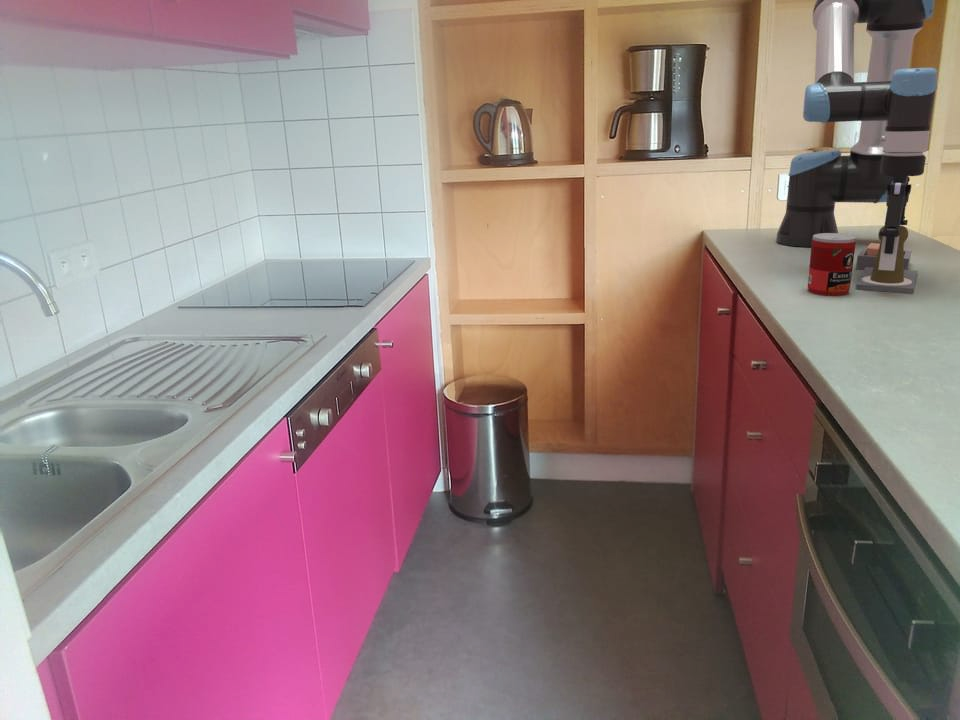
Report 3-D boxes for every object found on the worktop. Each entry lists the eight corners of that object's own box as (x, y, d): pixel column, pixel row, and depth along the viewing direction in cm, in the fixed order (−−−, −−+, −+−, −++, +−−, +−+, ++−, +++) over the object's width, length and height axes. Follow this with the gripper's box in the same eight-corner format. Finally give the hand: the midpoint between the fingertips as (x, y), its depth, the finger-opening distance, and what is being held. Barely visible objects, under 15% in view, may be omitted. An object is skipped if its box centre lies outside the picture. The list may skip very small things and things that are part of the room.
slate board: (865, 271, 167) (865, 266, 167) (917, 275, 162) (917, 270, 162) (855, 289, 152) (856, 283, 152) (912, 293, 148) (913, 288, 147)
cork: (907, 283, 151) (916, 227, 147) (874, 283, 152) (882, 227, 148) (898, 277, 156) (906, 223, 153) (866, 276, 158) (873, 223, 154)
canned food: (831, 298, 147) (838, 241, 143) (798, 290, 153) (803, 235, 150) (858, 292, 150) (865, 236, 147) (824, 285, 157) (830, 231, 153)
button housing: (860, 260, 178) (862, 248, 177) (909, 263, 173) (911, 250, 172) (855, 269, 170) (857, 255, 169) (907, 272, 165) (908, 258, 164)
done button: (868, 256, 175) (870, 243, 174) (902, 258, 172) (903, 244, 171) (865, 261, 170) (867, 248, 169) (900, 263, 166) (901, 250, 165)
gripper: (887, 149, 158) (874, 251, 165) (876, 158, 138) (861, 274, 145) (928, 149, 155) (913, 253, 161) (923, 159, 134) (906, 277, 141)
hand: (889, 263), depth 153 cm, fingers open, 13 cm apart
